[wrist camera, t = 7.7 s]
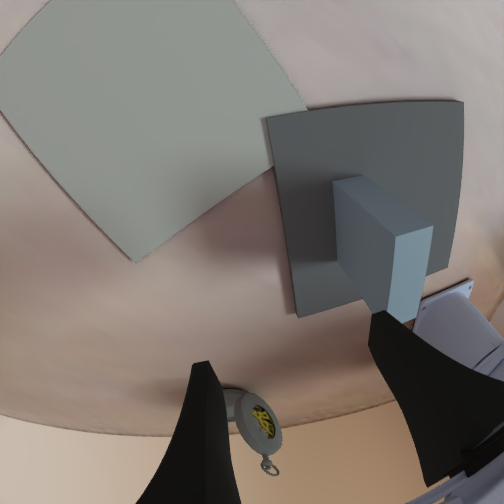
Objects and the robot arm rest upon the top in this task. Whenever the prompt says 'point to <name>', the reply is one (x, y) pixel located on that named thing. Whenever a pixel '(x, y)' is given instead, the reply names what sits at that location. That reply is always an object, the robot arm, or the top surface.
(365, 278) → the blue-grey rectangular block
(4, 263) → the top surface
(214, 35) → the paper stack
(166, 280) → the top surface
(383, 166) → the mat
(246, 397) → the pocket watch
